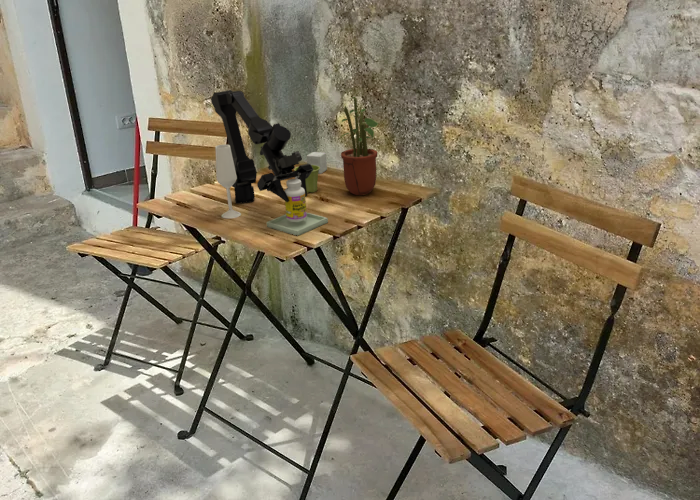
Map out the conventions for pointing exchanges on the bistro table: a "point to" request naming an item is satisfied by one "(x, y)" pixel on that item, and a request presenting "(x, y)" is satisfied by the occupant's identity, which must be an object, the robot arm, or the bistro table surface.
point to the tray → (297, 224)
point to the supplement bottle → (295, 201)
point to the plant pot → (312, 179)
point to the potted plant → (359, 156)
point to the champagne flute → (226, 175)
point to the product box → (318, 160)
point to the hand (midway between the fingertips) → (297, 198)
